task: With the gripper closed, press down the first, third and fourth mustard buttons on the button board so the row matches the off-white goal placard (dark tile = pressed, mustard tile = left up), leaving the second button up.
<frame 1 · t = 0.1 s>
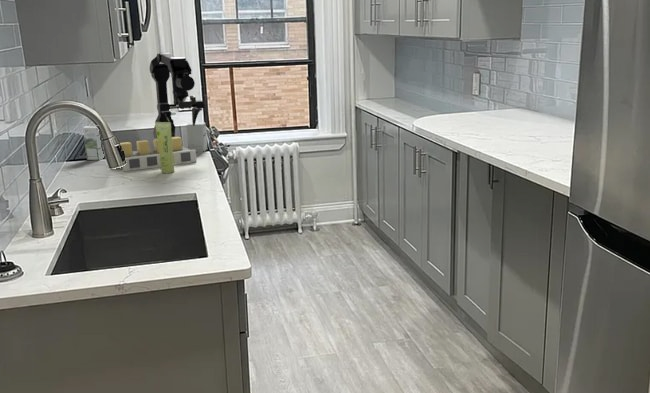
hand: (182, 126, 254), 14 cm above the worktop, tool pointing down, fingers open, 9 cm apart
button 1: (176, 145, 261), point 6 cm above the worktop, slide at 0.0 cm
button board: (152, 161, 258), on the worktop
button 3: (143, 148, 254), point 6 cm above the worktop, slide at 0.0 cm
supplement box: (198, 151, 279), on the worktop
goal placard: (160, 166, 249), on the worktop
tube: (167, 172, 238), on the worktop
button 4: (126, 150, 251), point 6 cm above the worktop, slide at 0.0 cm
button 2: (159, 147, 258), point 6 cm above the worktop, slide at 0.0 cm
syrup box: (95, 159, 265), on the worktop
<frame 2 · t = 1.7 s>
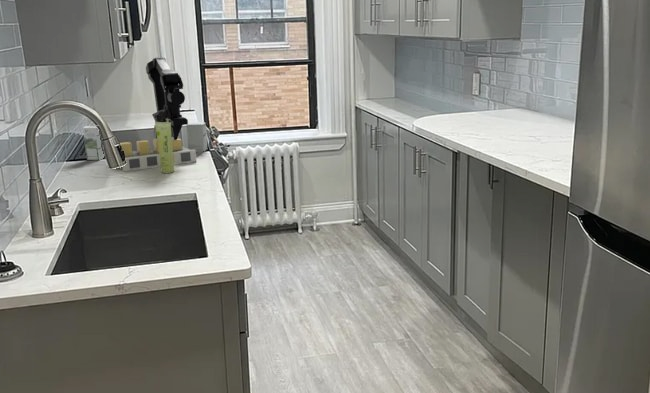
hand: (175, 139, 261), 8 cm above the worktop, tool pointing down, fingers closed, pressing on button 1
button 1: (176, 146, 262), point 5 cm above the worktop, slide at 0.8 cm, touching gripper
everything else where it was.
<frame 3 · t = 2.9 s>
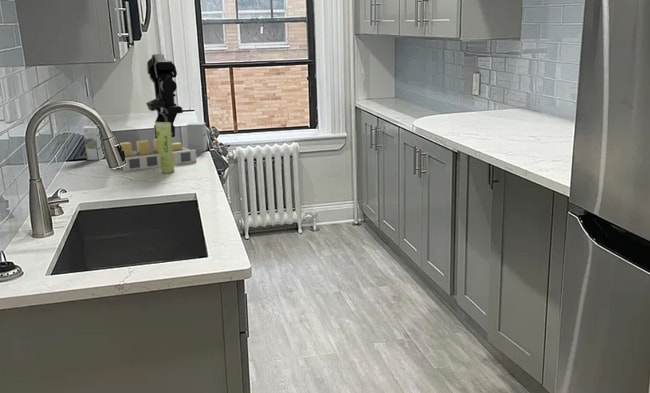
hand: (169, 128, 258), 13 cm above the worktop, tool pointing down, fingers closed
button 1: (176, 150, 262), point 3 cm above the worktop, slide at 2.5 cm
everything else where it was.
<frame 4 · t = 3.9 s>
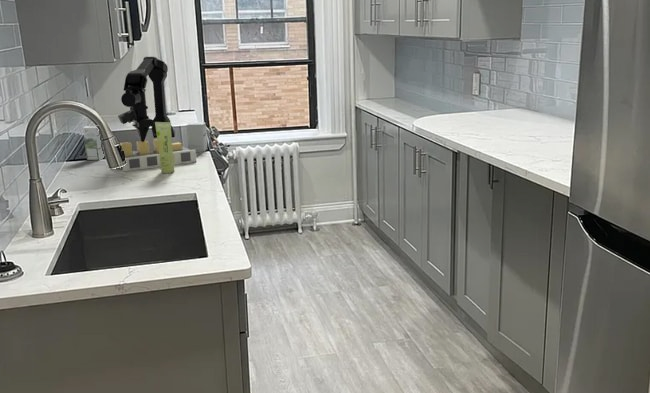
hand: (142, 141, 254), 9 cm above the worktop, tool pointing down, fingers closed, pressing on button 3
button 3: (143, 149, 254), point 6 cm above the worktop, slide at 0.1 cm, touching gripper
everything else where it was.
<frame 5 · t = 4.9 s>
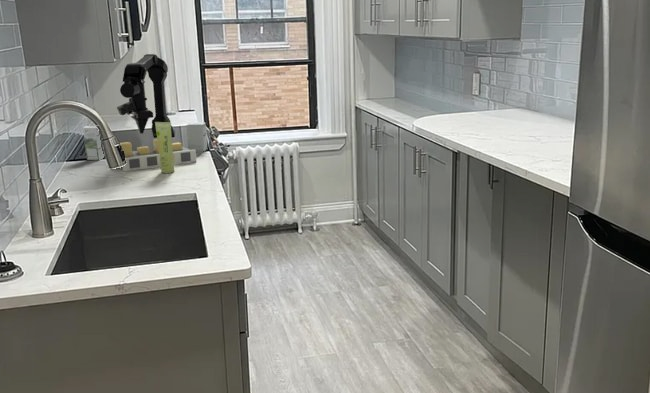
hand: (141, 133, 253), 12 cm above the worktop, tool pointing down, fingers closed
button 3: (143, 154, 255), point 3 cm above the worktop, slide at 2.5 cm
everything else where it was.
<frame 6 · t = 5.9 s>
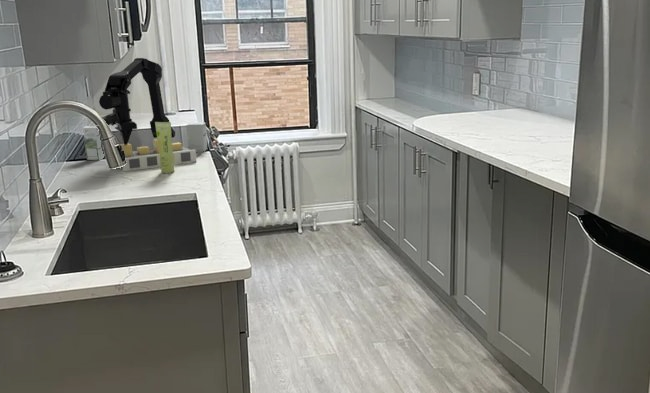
hand: (125, 144, 250), 8 cm above the worktop, tool pointing down, fingers closed, pressing on button 4
button 4: (126, 152, 251), point 5 cm above the worktop, slide at 0.6 cm, touching gripper
everything else where it was.
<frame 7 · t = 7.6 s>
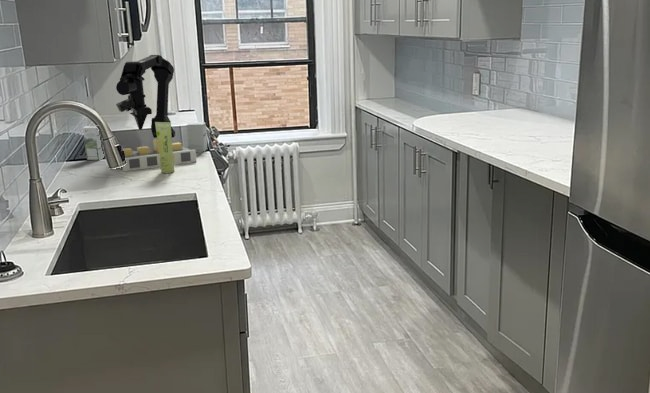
hand: (140, 129, 259), 13 cm above the worktop, tool pointing down, fingers closed
button 4: (126, 156, 252), point 3 cm above the worktop, slide at 2.5 cm
everything else where it was.
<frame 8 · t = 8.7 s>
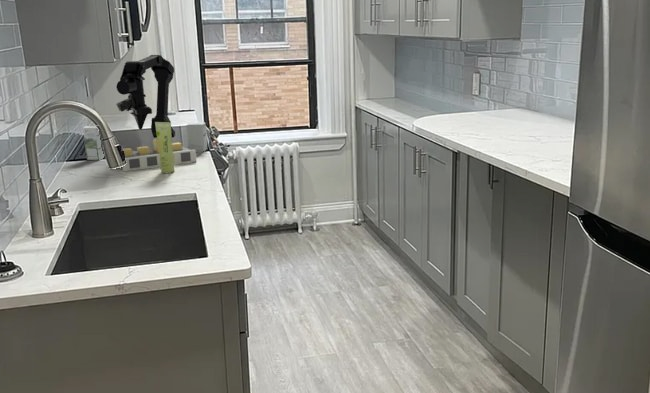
hand: (140, 129, 259), 13 cm above the worktop, tool pointing down, fingers closed
nothing on the worktop moved.
at the end: button 1 slide at 2.5 cm; button 4 slide at 2.5 cm; button 2 slide at 0.0 cm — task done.
